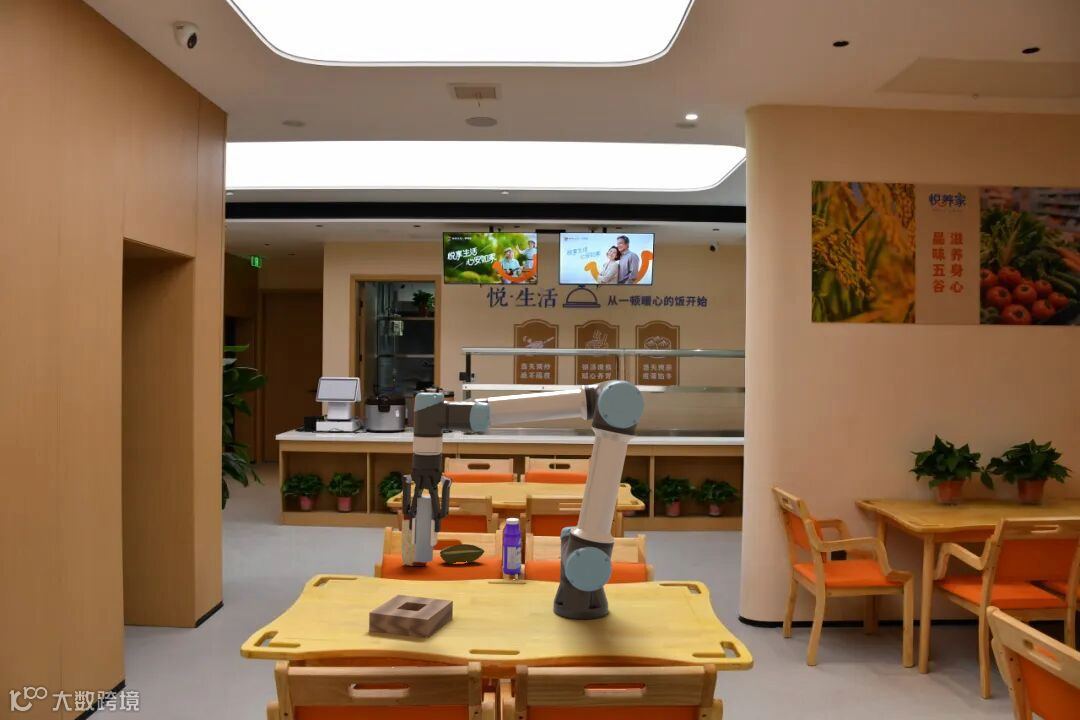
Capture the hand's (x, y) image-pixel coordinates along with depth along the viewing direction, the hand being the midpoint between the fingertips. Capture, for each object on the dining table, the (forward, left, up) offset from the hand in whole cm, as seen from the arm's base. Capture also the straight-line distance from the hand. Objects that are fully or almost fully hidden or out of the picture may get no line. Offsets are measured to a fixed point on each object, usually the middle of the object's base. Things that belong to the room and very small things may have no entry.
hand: (424, 543), depth 200 cm
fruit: (+15, -62, -22) cm, 67 cm away
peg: (0, 0, -4) cm, 4 cm away
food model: (+28, -54, -22) cm, 64 cm away
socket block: (+4, -1, -21) cm, 22 cm away
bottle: (-5, -56, -22) cm, 60 cm away
